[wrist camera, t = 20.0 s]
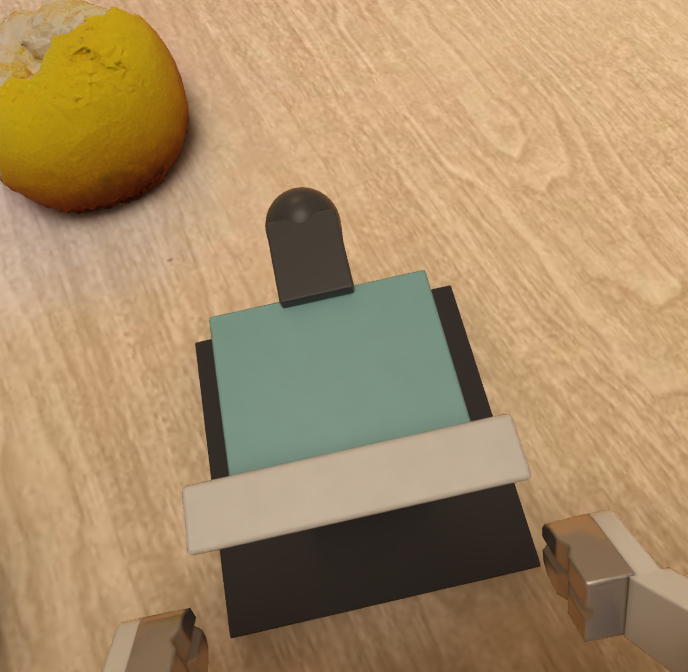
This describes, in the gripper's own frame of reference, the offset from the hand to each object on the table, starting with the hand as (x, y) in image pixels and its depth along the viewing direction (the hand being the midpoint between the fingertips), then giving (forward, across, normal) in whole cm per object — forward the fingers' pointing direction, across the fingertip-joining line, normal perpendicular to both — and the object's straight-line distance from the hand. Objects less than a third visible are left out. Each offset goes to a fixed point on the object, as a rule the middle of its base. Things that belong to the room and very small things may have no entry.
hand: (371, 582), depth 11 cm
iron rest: (+10, 0, +4) cm, 10 cm away
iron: (+9, 0, +3) cm, 9 cm away
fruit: (+24, +10, -10) cm, 28 cm away
